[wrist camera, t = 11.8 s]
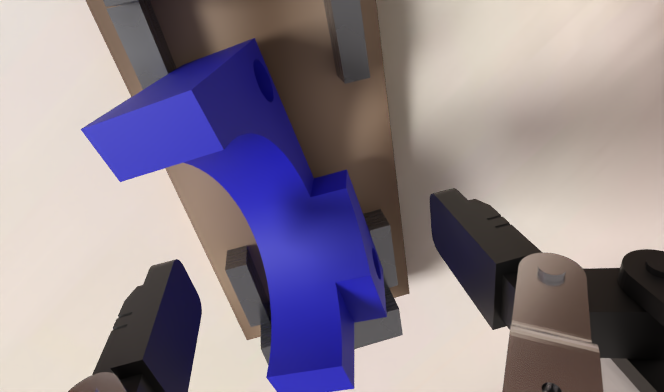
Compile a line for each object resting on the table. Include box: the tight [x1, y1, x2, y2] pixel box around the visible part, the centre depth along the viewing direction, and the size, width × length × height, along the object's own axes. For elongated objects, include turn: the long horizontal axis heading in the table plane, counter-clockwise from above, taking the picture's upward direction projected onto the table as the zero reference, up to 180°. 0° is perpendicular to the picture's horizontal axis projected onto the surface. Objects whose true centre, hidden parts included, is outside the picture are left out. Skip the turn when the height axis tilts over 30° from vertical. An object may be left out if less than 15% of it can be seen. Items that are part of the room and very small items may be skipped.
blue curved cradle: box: [81, 38, 387, 392], centre depth 14 cm, size 12×4×6 cm, turn 19°
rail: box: [86, 0, 409, 365], centre depth 16 cm, size 10×20×4 cm, turn 11°
